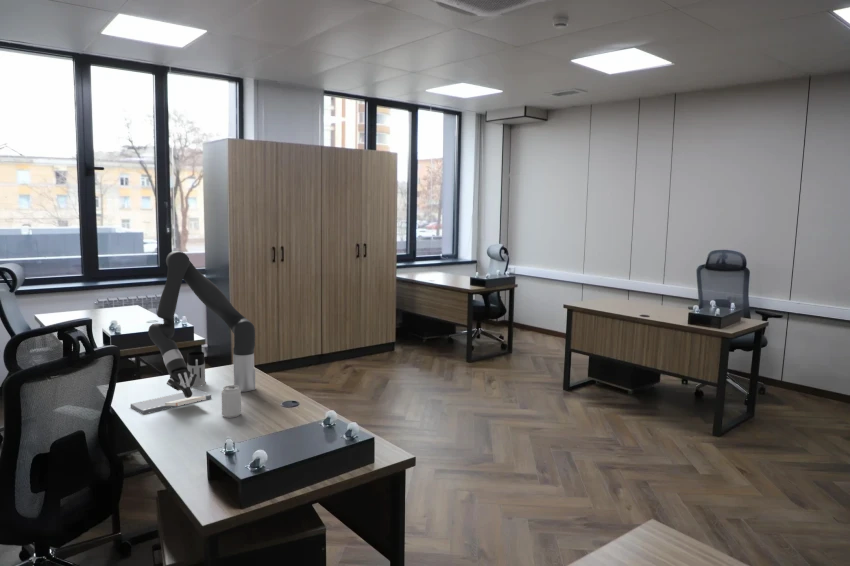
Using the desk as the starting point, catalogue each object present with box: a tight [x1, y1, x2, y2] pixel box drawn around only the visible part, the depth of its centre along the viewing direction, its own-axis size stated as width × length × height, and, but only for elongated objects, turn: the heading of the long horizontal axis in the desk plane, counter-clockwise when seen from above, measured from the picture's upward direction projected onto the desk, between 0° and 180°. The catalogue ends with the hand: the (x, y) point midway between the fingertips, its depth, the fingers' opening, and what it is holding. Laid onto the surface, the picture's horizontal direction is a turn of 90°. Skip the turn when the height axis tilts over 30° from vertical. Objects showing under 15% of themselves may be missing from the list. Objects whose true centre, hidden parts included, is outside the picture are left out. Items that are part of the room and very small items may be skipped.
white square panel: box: [165, 397, 207, 407], centre depth 250 cm, size 12×1×12 cm
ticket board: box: [130, 388, 212, 415], centre depth 258 cm, size 30×12×2 cm, turn 138°
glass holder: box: [186, 351, 207, 387], centre depth 283 cm, size 9×14×15 cm, turn 23°
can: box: [221, 384, 242, 419], centre depth 244 cm, size 8×8×12 cm
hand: (189, 396), depth 248 cm, fingers closed
